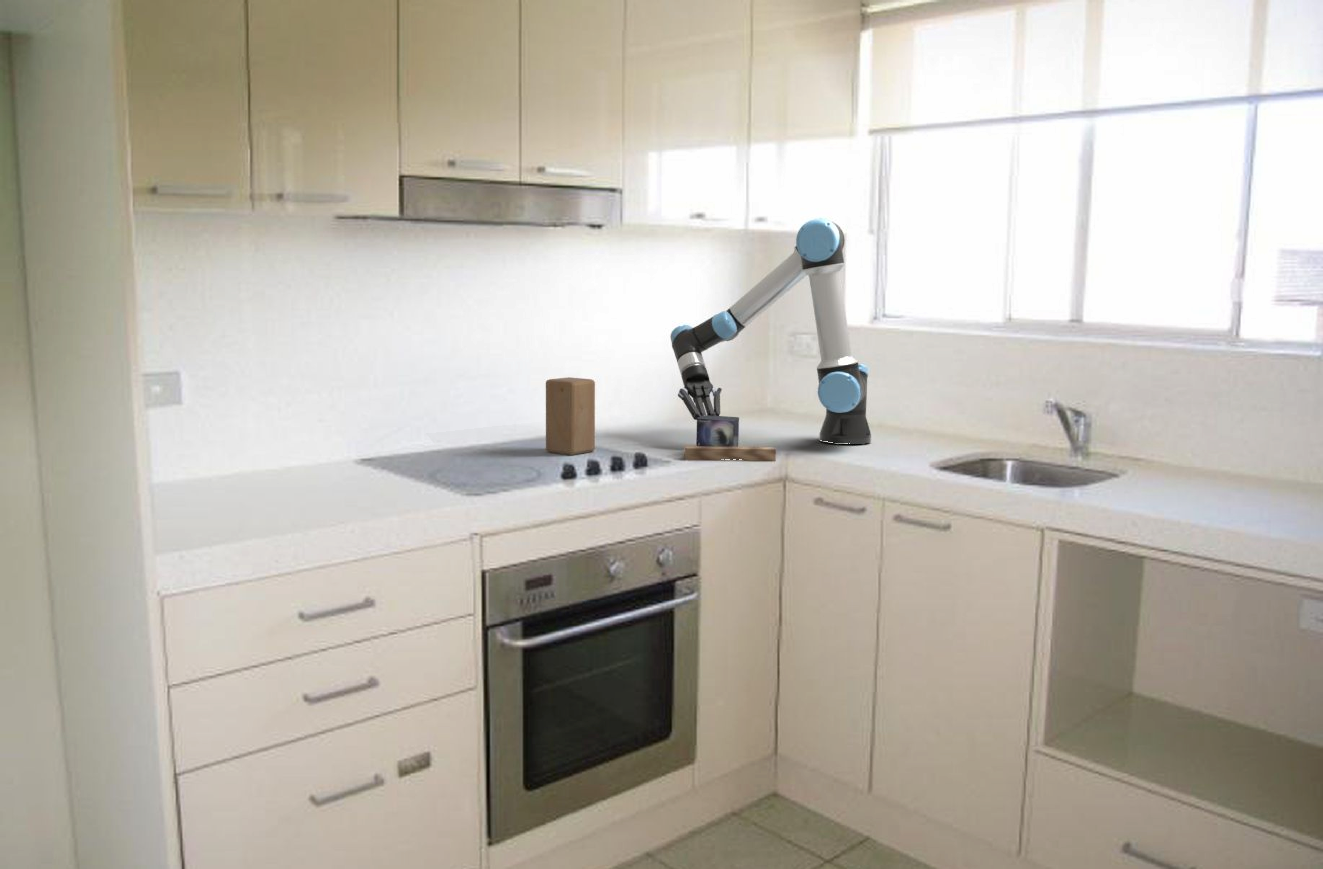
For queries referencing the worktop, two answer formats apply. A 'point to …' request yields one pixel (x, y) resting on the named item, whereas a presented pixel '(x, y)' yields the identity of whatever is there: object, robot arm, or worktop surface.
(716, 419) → the small box
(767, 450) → the long brown wooden bar
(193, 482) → the worktop surface
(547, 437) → the wooden block
